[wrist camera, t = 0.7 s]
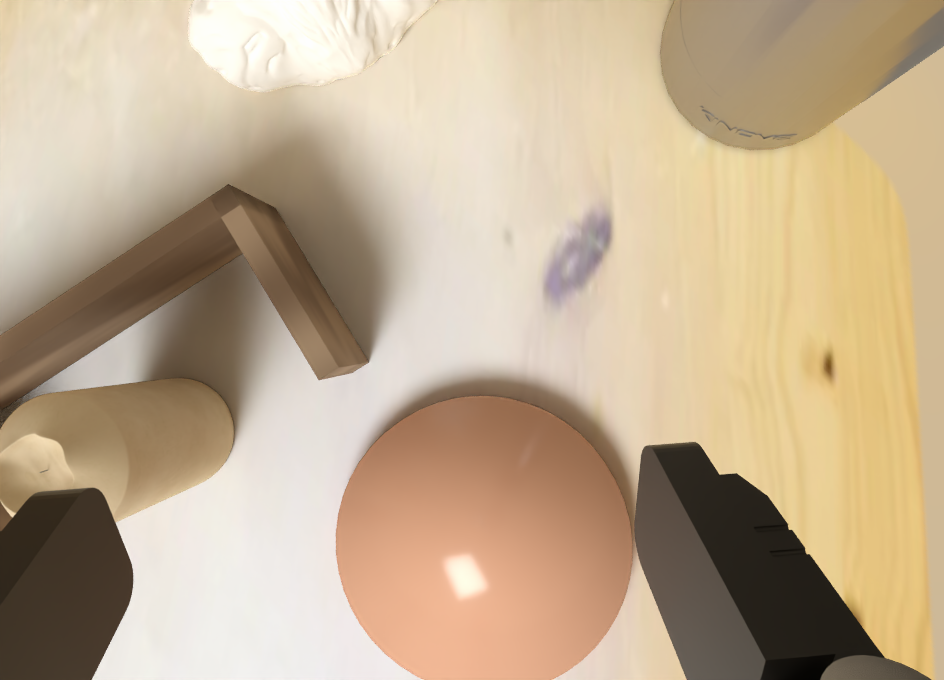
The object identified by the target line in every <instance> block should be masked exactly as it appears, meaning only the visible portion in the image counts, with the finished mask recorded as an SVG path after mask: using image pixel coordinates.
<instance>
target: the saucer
mask: <svg viewBox="0 0 944 680" xmlns="http://www.w3.org/2000/svg"><path fill="white" fill-rule="evenodd" d="M336 556H337V563H338V570H339V575H340V578H341V582H342V586H343V590H344V592H345V595H346V597H347V599H348V602H349V604H350V607H351V609H352V611H353V612H354V614H355V616H356V618H357V619H358V621H359V623H360V625H361V626H362V627H363V629H364V630H365V631H366V633H367V634H368V635H369V637H370V638H371V639H372V641H373V642H374V643H375V644H376V645H377V646H378V647H379V648H380V649H381V650H382V651H383V652H384V653H385V654H386V655H387V656H388V657H390V658H391V659H392V660H393V661H395V662H396V663H397V664H398V665H400V666H401V667H403V668H404V669H406V670H407V671H409V672H411V673H412V674H414V675H415V676H417V677H419V678H421V679H424V680H552V679H554V678H556V677H558V676H560V675H562V674H564V673H565V672H567V671H568V670H570V669H571V668H572V667H574V666H575V665H577V664H578V663H579V662H581V661H582V660H583V659H584V658H585V657H586V656H587V655H588V654H589V653H590V652H591V651H592V650H593V649H594V648H595V647H596V646H597V645H598V644H599V642H600V641H601V640H602V639H603V637H604V636H605V635H606V633H607V632H608V630H609V629H610V627H611V625H612V624H613V622H614V620H615V619H616V617H617V615H618V613H619V610H620V608H621V606H622V603H623V601H624V598H625V595H626V591H627V588H628V584H629V580H630V574H631V566H632V534H631V527H630V520H629V516H628V512H627V509H626V505H625V502H624V499H623V497H622V494H621V492H620V489H619V487H618V485H617V482H616V481H615V479H614V477H613V476H612V474H611V472H610V470H609V469H608V467H607V465H606V464H605V462H604V461H603V459H602V458H601V457H600V455H599V454H598V453H597V452H596V450H595V449H594V448H593V446H592V445H591V444H590V443H589V442H588V441H587V440H586V439H585V438H584V437H583V436H582V435H581V434H580V433H579V432H578V431H576V430H575V429H574V428H572V427H571V426H570V425H568V424H567V423H566V422H564V421H563V420H562V419H560V418H558V417H556V416H555V415H553V414H551V413H549V412H548V411H546V410H543V409H541V408H539V407H536V406H534V405H531V404H529V403H526V402H522V401H518V400H514V399H511V398H504V397H496V396H467V397H459V398H453V399H449V400H445V401H441V402H438V403H435V404H432V405H430V406H427V407H425V408H423V409H420V410H418V411H416V412H415V413H413V414H411V415H409V416H408V417H406V418H404V419H403V420H401V421H400V422H398V423H397V424H396V425H394V426H393V427H392V428H391V429H389V430H388V431H387V432H385V433H384V434H383V435H382V436H381V437H380V438H379V439H378V440H377V441H376V442H375V443H374V444H373V445H372V446H371V447H370V449H369V450H368V451H367V453H366V454H365V455H364V457H363V458H362V459H361V461H360V462H359V463H358V465H357V467H356V469H355V471H354V472H353V474H352V476H351V478H350V480H349V482H348V485H347V487H346V490H345V492H344V495H343V498H342V502H341V506H340V509H339V513H338V520H337V528H336Z"/></svg>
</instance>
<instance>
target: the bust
mask: <svg viewBox="0 0 944 680" xmlns="http://www.w3.org/2000/svg"><path fill="white" fill-rule="evenodd" d="M436 2H437V0H193V2H192V4H191V7H190V11H189V18H188V39H189V43H190V45H191V46H192V47H193V49H194V50H196V51H197V52H199V53H200V55H201V56H202V58H203V60H204V61H205V63H206V64H207V65H208V66H209V67H211V68H212V69H213V70H215V71H217V72H219V73H220V74H221V75H222V76H223V77H224V78H225V79H226V80H227V81H228V82H230V83H231V84H233V85H235V86H237V87H240V88H243V89H247V90H250V91H255V92H270V91H273V90H276V89H281V88H286V87H290V86H294V85H311V86H321V85H328V84H330V83H332V82H334V81H335V80H338V79H344V78H348V77H351V76H353V75H357V74H360V73H362V72H363V71H364V70H365V69H367V68H368V67H370V66H371V65H372V64H374V63H375V62H376V61H377V60H378V59H379V58H380V57H382V56H384V55H387V54H388V53H390V52H391V51H392V50H393V49H394V48H395V47H396V46H397V45H398V43H399V42H400V40H401V39H402V37H403V35H404V33H405V32H406V30H407V29H408V28H409V27H410V26H411V25H412V24H413V23H414V22H416V21H417V20H418V19H419V18H420V17H421V16H422V15H423V14H424V13H426V12H427V11H428V10H429V9H431V8H432V7H433V6H434V5H435V4H436Z"/></svg>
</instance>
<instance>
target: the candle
mask: <svg viewBox="0 0 944 680" xmlns="http://www.w3.org/2000/svg"><path fill="white" fill-rule="evenodd" d="M233 439H234V426H233V420H232V417H231V413H230V411H229V409H228V407H227V405H226V403H225V402H224V400H223V399H222V398H221V396H220V395H219V394H218V393H217V392H216V391H214V390H213V389H212V388H210V387H209V386H207V385H205V384H204V383H201V382H199V381H195V380H191V379H185V378H171V379H161V380H153V381H145V382H137V383H129V384H120V385H112V386H104V387H96V388H88V389H80V390H72V391H64V392H56V393H50V394H44V395H41V396H38V397H35V398H33V399H31V400H29V401H27V402H25V403H24V404H22V405H21V406H19V407H18V408H17V409H16V410H15V411H14V412H12V414H11V415H10V416H9V417H8V418H7V419H6V421H5V422H4V424H3V425H2V427H1V429H0V501H1V503H2V505H3V506H4V508H5V509H6V510H7V512H8V513H9V514H10V516H11V517H12V518H13V516H14V515H15V514H16V513H17V512H18V510H19V509H20V508H21V507H22V505H23V504H24V503H25V502H26V501H27V499H28V498H29V497H30V496H32V495H33V494H35V493H37V492H42V491H54V490H67V489H79V488H97V489H99V490H100V491H101V492H102V493H103V495H104V496H105V498H106V500H107V503H108V505H109V508H110V510H111V513H112V516H113V518H114V521H115V522H117V521H120V520H122V519H124V518H126V517H128V516H131V515H133V514H135V513H137V512H139V511H141V510H144V509H146V508H148V507H150V506H152V505H155V504H157V503H159V502H161V501H163V500H165V499H168V498H170V497H172V496H174V495H176V494H179V493H181V492H183V491H185V490H187V489H189V488H192V487H194V486H196V485H198V484H200V483H202V482H204V481H206V480H207V479H209V478H210V477H212V476H213V475H214V474H215V473H216V472H217V471H218V470H219V469H220V468H221V467H222V466H223V465H224V463H225V462H226V460H227V458H228V456H229V454H230V452H231V449H232V445H233Z"/></svg>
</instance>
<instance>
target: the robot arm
mask: <svg viewBox="0 0 944 680" xmlns="http://www.w3.org/2000/svg"><path fill="white" fill-rule="evenodd" d="M943 46H944V0H675V1H674V3H673V6H672V8H671V10H670V13H669V15H668V18H667V21H666V24H665V27H664V30H663V34H662V42H661V50H660V57H661V68H662V75H663V78H664V81H665V84H666V88H667V91H668V93H669V95H670V97H671V99H672V100H673V102H674V104H675V105H676V107H677V109H678V111H679V112H680V113H681V114H682V115H683V116H684V117H685V118H686V119H687V120H688V121H689V123H690V124H691V125H692V126H694V127H695V128H696V129H698V130H699V131H701V132H702V133H704V134H705V135H706V136H708V137H709V138H711V139H714V140H716V141H719V142H721V143H723V144H726V145H728V146H733V147H738V148H743V149H748V150H766V149H776V148H780V147H784V146H789V145H793V144H795V143H798V142H800V141H802V140H804V139H806V138H809V137H811V136H813V135H815V134H816V133H817V132H819V131H820V130H822V129H823V128H825V127H826V126H828V125H829V124H830V123H832V122H833V121H835V120H836V119H838V118H839V117H841V116H842V115H844V114H845V113H847V112H848V111H850V110H851V109H852V108H854V107H855V106H857V105H859V104H860V103H862V102H863V101H865V100H866V99H868V98H869V97H871V96H872V95H874V94H875V93H877V92H878V91H880V90H881V89H882V88H884V87H885V86H887V85H888V84H890V83H891V82H892V81H894V80H895V79H897V78H898V77H900V76H901V75H903V74H904V73H905V72H907V71H908V70H910V69H911V68H913V67H914V66H916V65H917V64H919V63H920V62H921V61H923V60H924V59H926V58H927V57H929V56H930V55H932V54H933V53H935V52H936V51H937V50H939V49H940V48H942V47H943ZM635 540H636V547H637V552H638V556H639V560H640V563H641V566H642V569H643V571H644V574H645V576H646V579H647V581H648V584H649V586H650V589H651V591H652V594H653V596H654V599H655V601H656V604H657V606H658V609H659V611H660V614H661V616H662V619H663V621H664V624H665V626H666V629H667V631H668V634H669V636H670V639H671V641H672V644H673V646H674V649H675V651H676V654H677V656H678V659H679V661H680V664H681V666H682V669H683V671H684V674H685V676H686V679H687V680H931V679H930V678H928V677H926V676H925V675H923V674H921V673H920V672H918V671H916V670H914V669H912V668H910V667H908V666H906V665H903V664H901V663H898V662H895V661H892V660H889V659H886V658H885V657H884V656H883V655H882V653H881V652H880V651H879V650H878V648H877V647H876V646H875V644H874V643H873V641H872V640H871V639H870V637H869V636H868V635H867V633H866V632H865V630H864V629H863V628H862V626H861V625H860V623H859V622H858V621H857V619H856V618H855V617H854V615H853V614H852V612H851V611H850V610H849V608H848V607H847V605H846V604H845V603H844V601H843V600H842V598H841V597H840V596H839V594H838V593H837V592H836V590H835V589H834V587H833V586H832V585H831V583H830V582H829V580H828V579H827V578H826V576H825V575H824V574H823V572H822V571H821V569H820V568H819V567H818V565H817V564H816V562H815V561H814V560H813V558H812V557H811V556H810V554H806V552H805V547H804V546H803V544H802V543H801V542H800V540H799V539H798V538H797V536H796V535H795V533H794V532H793V531H792V530H789V529H788V524H787V522H786V521H785V520H784V518H783V517H782V515H781V514H780V513H779V511H778V510H777V508H776V507H775V506H774V504H773V503H772V501H771V500H770V499H769V497H768V496H767V495H765V494H764V493H763V492H761V491H760V490H759V489H757V488H756V487H754V486H753V485H752V484H750V483H749V482H748V481H746V480H745V479H744V478H742V477H741V476H739V475H738V474H737V473H736V474H724V475H719V473H718V472H717V470H716V469H715V467H714V466H713V464H712V463H711V461H710V460H709V458H708V456H707V455H706V453H705V452H704V450H703V449H702V447H701V446H700V445H699V444H698V443H696V442H688V443H675V444H662V445H649V446H645V447H644V449H643V451H642V455H641V462H640V473H639V483H638V493H637V503H636V513H635ZM132 589H133V569H132V564H131V561H130V558H129V556H128V553H127V551H126V548H125V546H124V543H123V541H122V538H121V536H120V533H119V531H118V528H117V526H116V523H115V521H114V518H113V516H112V513H111V510H110V508H109V505H108V503H107V500H106V498H105V496H104V495H103V493H102V492H101V491H100V490H99V489H97V488H79V489H67V490H54V491H42V492H37V493H35V494H33V495H32V496H30V497H29V498H28V499H27V501H26V502H25V503H24V504H23V505H22V507H21V508H20V509H19V510H18V512H17V513H16V514H15V515H14V516H13V518H12V519H11V520H10V521H9V523H8V524H7V525H6V526H5V527H4V529H3V530H2V531H0V680H92V678H93V676H94V674H95V672H96V670H97V668H98V666H99V664H100V662H101V660H102V658H103V656H104V654H105V652H106V650H107V648H108V646H109V644H110V642H111V640H112V638H113V636H114V634H115V632H116V630H117V628H118V626H119V624H120V622H121V620H122V618H123V616H124V614H125V612H126V610H127V607H128V605H129V602H130V599H131V595H132Z"/></svg>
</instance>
